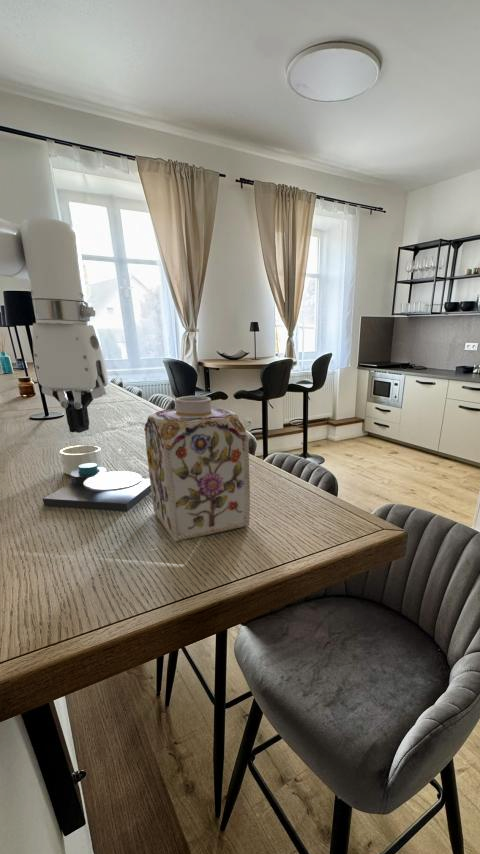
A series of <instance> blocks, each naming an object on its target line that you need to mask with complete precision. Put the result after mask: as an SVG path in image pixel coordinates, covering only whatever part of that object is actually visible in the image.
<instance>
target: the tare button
mask: <svg viewBox="0 0 480 854" xmlns="http://www.w3.org/2000/svg"><path fill="white" fill-rule="evenodd" d="M78 467H79V473H80V475H91V474H96V473H98V468H97V464H95V463H86V464H81V465H79V466H78Z"/></svg>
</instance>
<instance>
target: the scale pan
mask: <svg viewBox="0 0 480 854" xmlns="http://www.w3.org/2000/svg"><path fill="white" fill-rule="evenodd" d="M142 479H143V478H142V475H140V474H139V473H136V472H133V471H109V472H107V473H103V474H98V475H95V476H92V477H89V478H88V479H86V480H85V481H84V483H83V484H84V487H85V488H86V489H89V490H92V491H117V490H123V489H127V488H131V487H134V486H136V485H138V484H139V483H140V482H141V481H142Z"/></svg>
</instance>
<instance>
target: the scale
mask: <svg viewBox="0 0 480 854" xmlns="http://www.w3.org/2000/svg"><path fill="white" fill-rule="evenodd" d="M97 468H98V473H96V474H91V475H80V473H79V469H77V470H74V471H72V472H71V473H70V475H69V477H70V481H71V482H70V483H68V484H66V485H64V486H63V487H61V488H59V489H57V490H56V491H54V492H52V493H50V494H49V495H47V496H45V497H42V503H43V507H51V508H65V509H81V510H83V509H84V510H94V511H110V512H111V511H112V512H126V513H128V512H129V511H131V509H133V508H134V507H135V506H136V505H137V504H139V503H140V502H141V501H142V500H144V498H146V497H147V496H148V495H150V494H151V487H150V478H142V481H141V482H140V483H139V484H138V485H136V486H134V487H131V488H127V489H123V490H117V491H92V490H89V489H86V488H85V487H84V484H83V483H84V481H85V480H86V479H88V478H89V477H92V476H95V475H98V474H103V473H108V470H107V468H105V467H103V468H102V467H97Z"/></svg>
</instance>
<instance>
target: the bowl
mask: <svg viewBox="0 0 480 854" xmlns="http://www.w3.org/2000/svg"><path fill="white" fill-rule="evenodd" d="M59 456H60V461H61V467H62V472H63V473H64V474H66V475H68V476H70V473H71V472H72V471H74V470H77V469H79V467H78V466H79V465H81V464H86V463H95V464H97V467H102V468H104V463H103V456H102V449H101V447H100V446H97V445H91V444H90V445H89V444H87V445H86V444H85V445H75V446H73V445H72V446H68V447H65V448H63V449H60V450H59Z"/></svg>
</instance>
